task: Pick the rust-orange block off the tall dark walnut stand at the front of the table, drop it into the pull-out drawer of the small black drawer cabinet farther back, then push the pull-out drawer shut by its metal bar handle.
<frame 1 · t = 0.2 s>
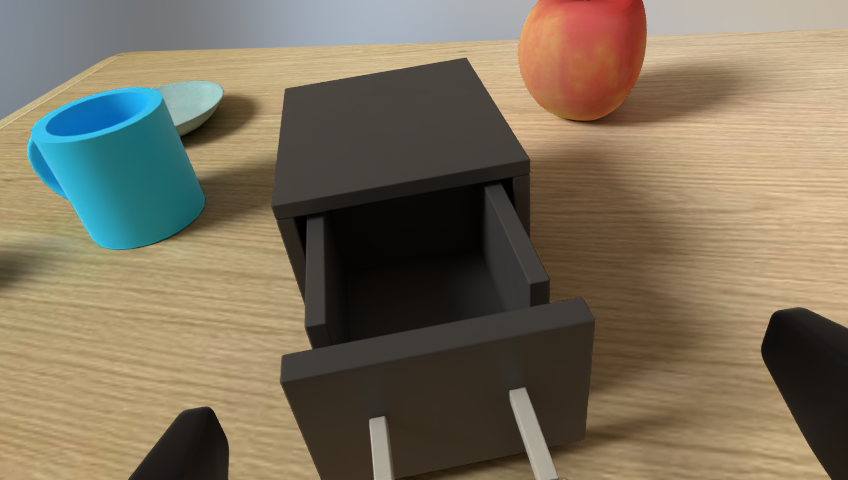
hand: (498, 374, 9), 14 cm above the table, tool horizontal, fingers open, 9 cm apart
mug: (129, 216, 43), on the table
apple: (579, 116, 47), on the table
pull-out drawer: (432, 337, 23), point 4 cm above the table, slide at 8.0 cm
saucer: (169, 129, 55), on the table
drawer cabinet: (408, 244, 36), on the table
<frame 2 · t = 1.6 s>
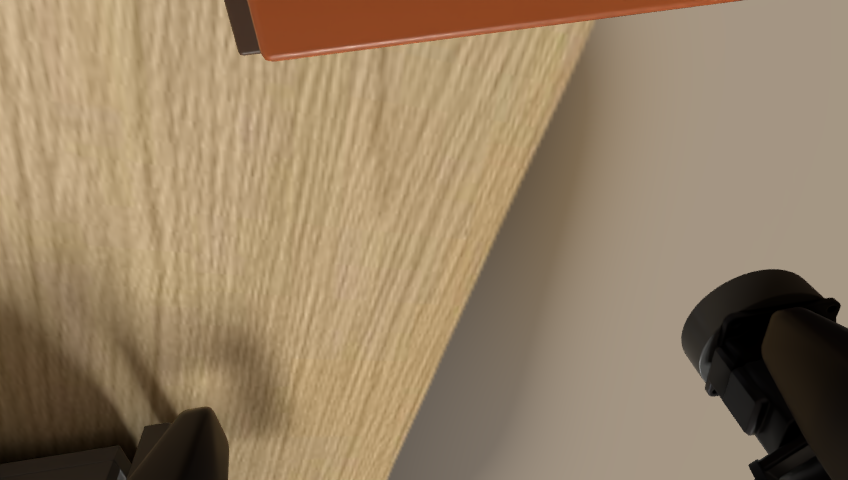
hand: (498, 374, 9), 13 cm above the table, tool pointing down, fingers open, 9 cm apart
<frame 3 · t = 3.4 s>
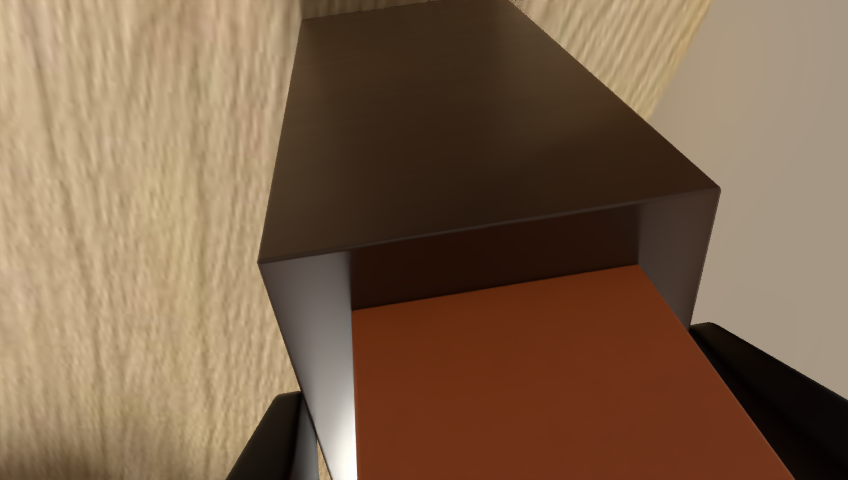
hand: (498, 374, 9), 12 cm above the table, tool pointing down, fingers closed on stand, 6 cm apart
block: (500, 383, 9), point 12 cm above the table, touching stand
stand: (413, 101, 19), on the table
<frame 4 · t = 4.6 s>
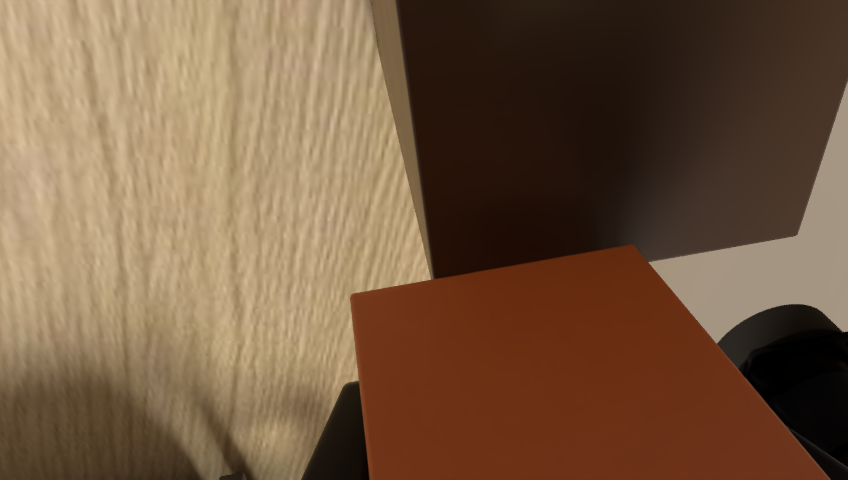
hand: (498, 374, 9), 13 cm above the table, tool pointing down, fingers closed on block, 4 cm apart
block: (496, 367, 9), point 13 cm above the table, touching gripper
when the fingers open (8 cm above the table, at t = 8.2 s): block stays where it is, resting on pull-out drawer.
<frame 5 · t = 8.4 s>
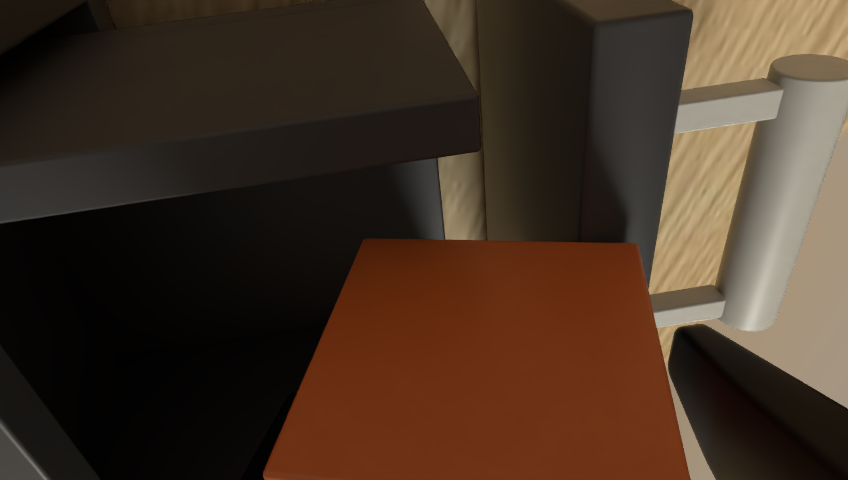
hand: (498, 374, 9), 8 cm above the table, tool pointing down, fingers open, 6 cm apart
block: (497, 336, 10), point 7 cm above the table, tilted 17°, touching pull-out drawer, gripper
pull-out drawer: (396, 253, 12), point 4 cm above the table, slide at 8.0 cm, touching block
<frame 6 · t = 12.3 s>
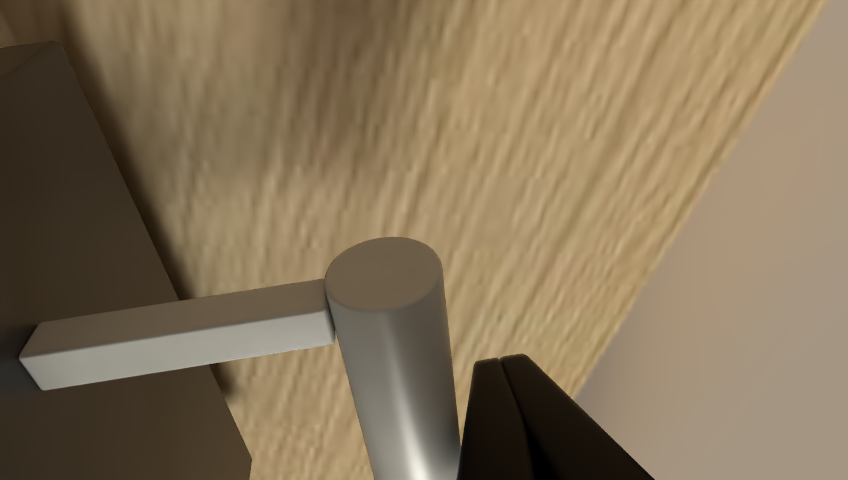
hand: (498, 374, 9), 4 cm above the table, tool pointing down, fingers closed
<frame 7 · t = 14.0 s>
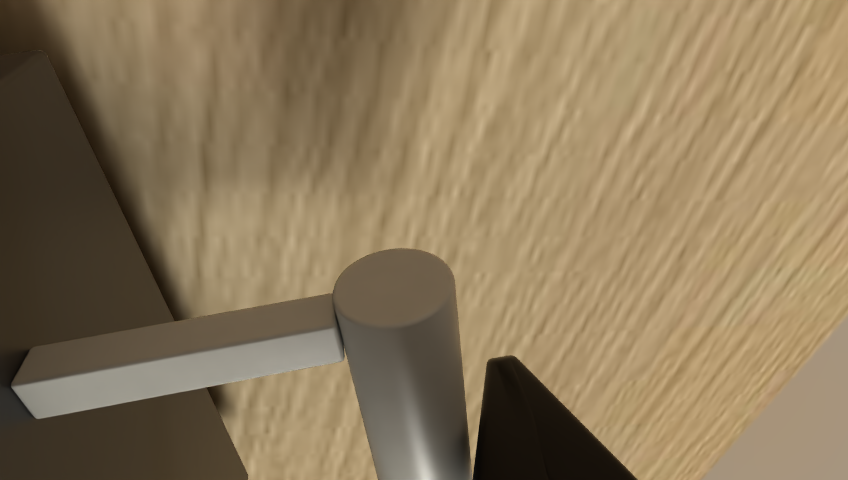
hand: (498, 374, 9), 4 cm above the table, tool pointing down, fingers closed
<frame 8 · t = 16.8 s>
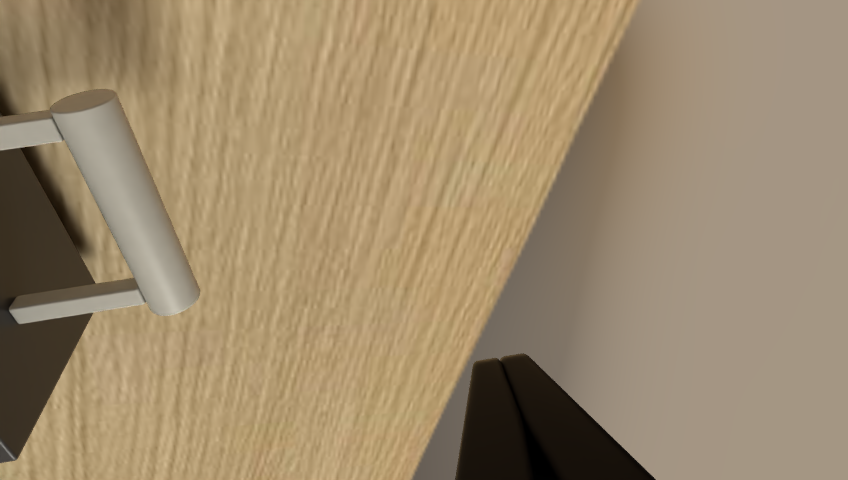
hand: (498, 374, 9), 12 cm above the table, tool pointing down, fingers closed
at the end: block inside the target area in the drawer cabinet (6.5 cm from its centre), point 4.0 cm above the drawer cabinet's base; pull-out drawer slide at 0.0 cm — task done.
